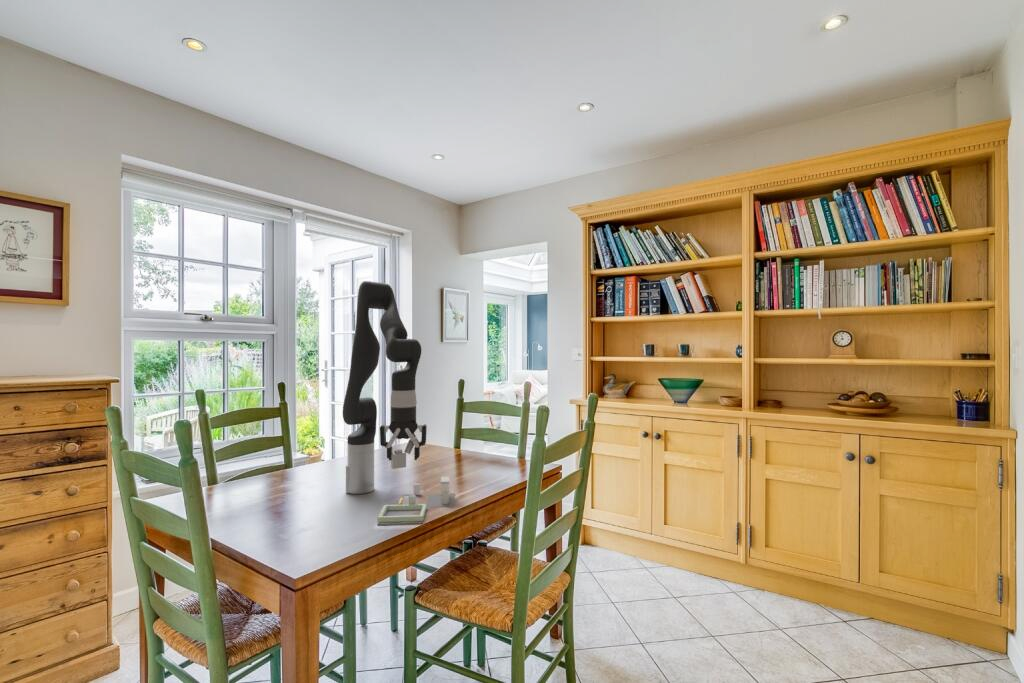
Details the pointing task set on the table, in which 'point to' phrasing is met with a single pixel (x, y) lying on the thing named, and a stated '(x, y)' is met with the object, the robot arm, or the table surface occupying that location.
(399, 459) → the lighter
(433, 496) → the fuse panel
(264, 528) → the table surface
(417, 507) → the tray
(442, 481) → the block
